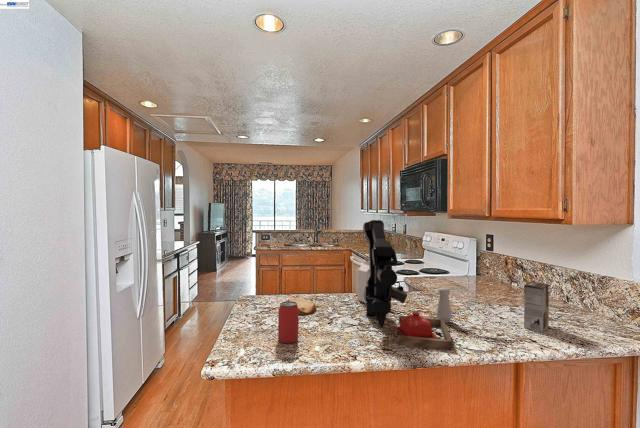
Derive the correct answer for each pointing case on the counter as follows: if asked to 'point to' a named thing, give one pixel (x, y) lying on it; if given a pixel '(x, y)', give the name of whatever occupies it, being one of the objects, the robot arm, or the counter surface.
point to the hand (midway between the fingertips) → (382, 323)
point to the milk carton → (363, 280)
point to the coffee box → (536, 306)
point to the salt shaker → (444, 305)
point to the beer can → (288, 322)
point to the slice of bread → (304, 306)
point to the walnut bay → (428, 342)
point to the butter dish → (415, 326)
